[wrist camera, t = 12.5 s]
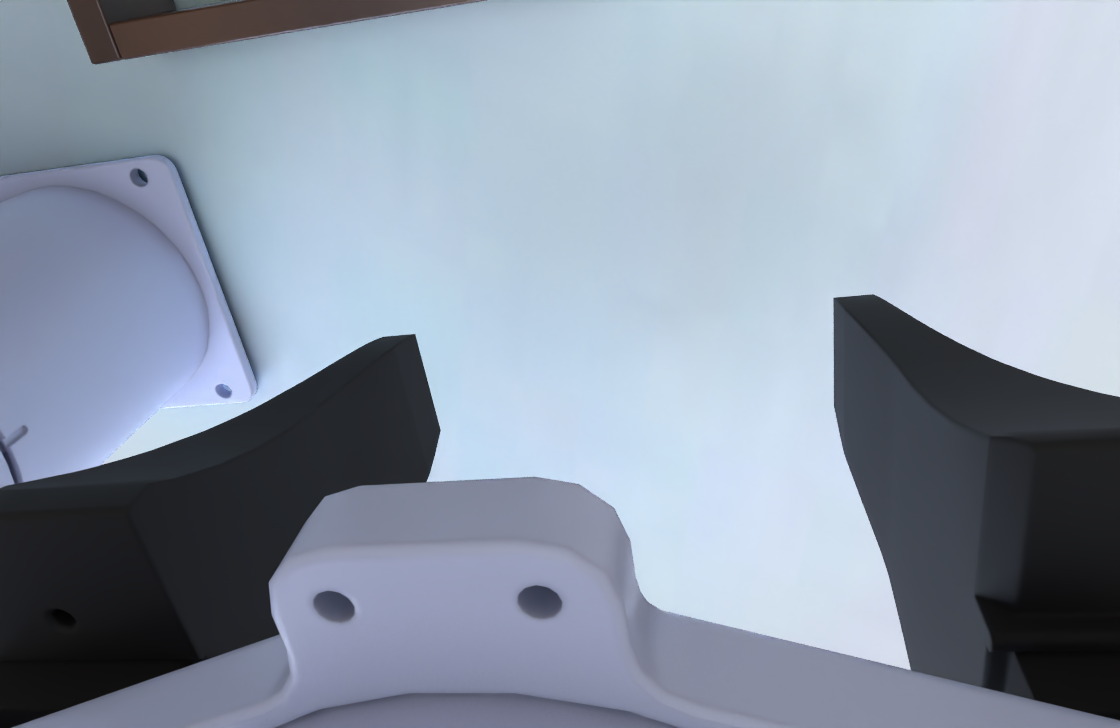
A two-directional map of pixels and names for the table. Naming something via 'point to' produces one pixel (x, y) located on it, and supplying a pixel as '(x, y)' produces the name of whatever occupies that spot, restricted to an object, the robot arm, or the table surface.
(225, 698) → the robot arm
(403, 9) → the desk tidy
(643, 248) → the table surface
